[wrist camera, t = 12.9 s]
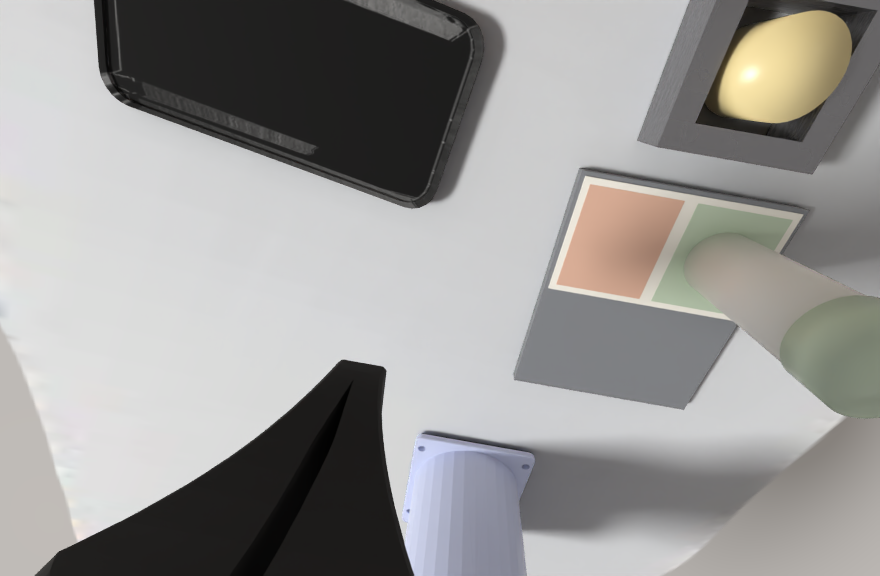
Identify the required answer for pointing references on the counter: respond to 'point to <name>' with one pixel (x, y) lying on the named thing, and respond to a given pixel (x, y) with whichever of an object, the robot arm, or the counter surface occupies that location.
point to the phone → (304, 81)
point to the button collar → (698, 60)
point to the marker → (796, 318)
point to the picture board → (637, 288)
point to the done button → (781, 67)
